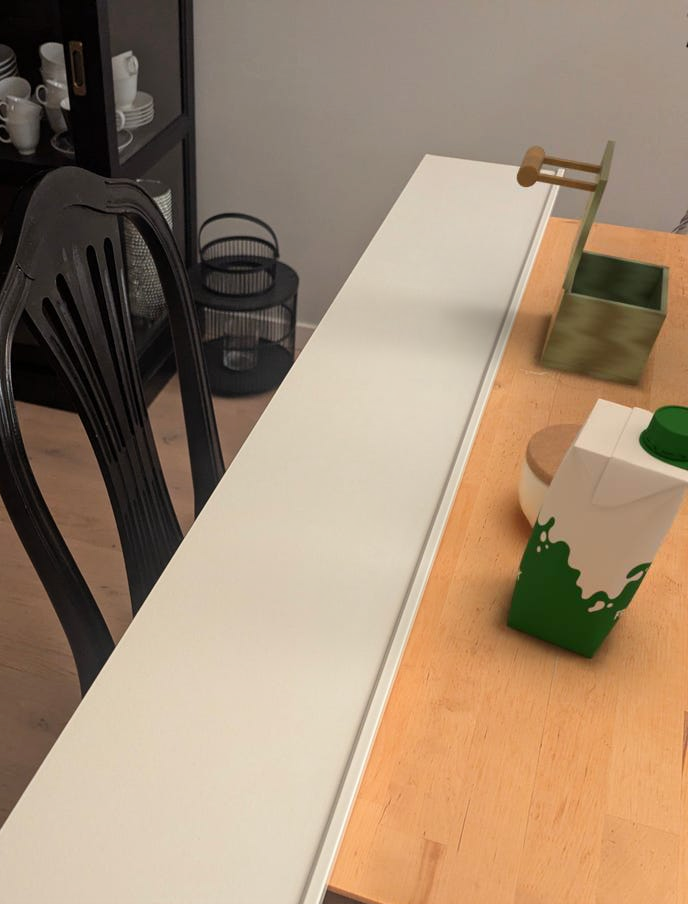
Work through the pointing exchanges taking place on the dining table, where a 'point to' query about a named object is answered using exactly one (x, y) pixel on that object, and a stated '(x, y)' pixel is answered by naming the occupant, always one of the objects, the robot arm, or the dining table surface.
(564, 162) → the lid
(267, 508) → the dining table surface
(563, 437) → the trinket box
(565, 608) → the soya milk
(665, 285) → the chest
